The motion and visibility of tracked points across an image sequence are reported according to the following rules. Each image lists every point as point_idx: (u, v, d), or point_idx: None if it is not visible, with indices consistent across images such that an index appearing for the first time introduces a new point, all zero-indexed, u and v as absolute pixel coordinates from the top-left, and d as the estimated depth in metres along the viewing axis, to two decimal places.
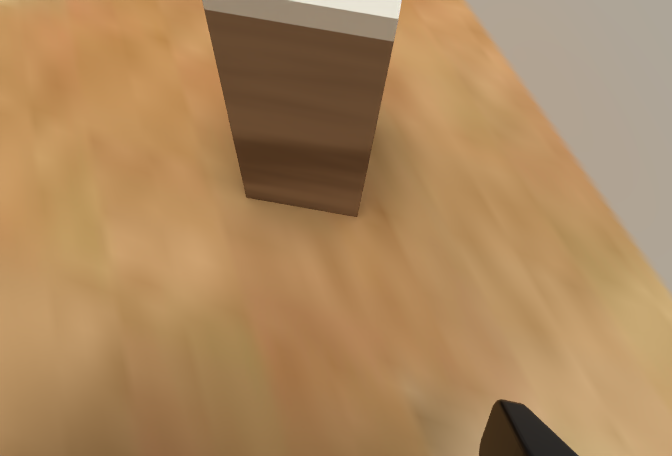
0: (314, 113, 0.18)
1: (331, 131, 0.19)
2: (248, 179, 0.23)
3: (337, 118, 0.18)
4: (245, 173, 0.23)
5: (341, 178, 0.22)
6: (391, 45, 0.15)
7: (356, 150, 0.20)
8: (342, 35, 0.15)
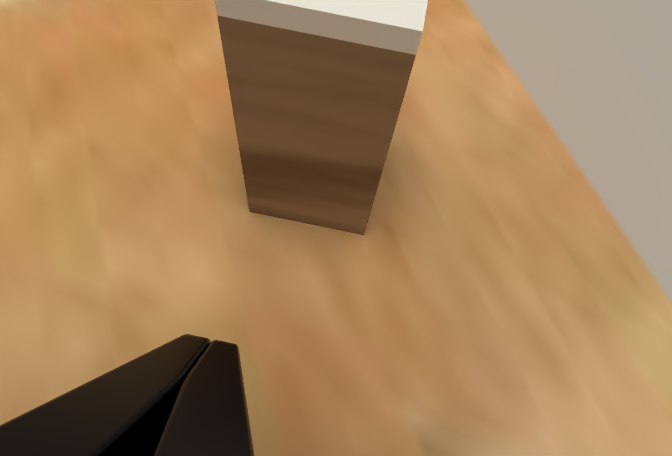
0: (326, 126, 0.17)
1: (343, 147, 0.18)
2: (253, 193, 0.22)
3: (350, 132, 0.17)
4: (250, 187, 0.22)
5: (350, 194, 0.21)
6: (413, 58, 0.14)
7: (368, 167, 0.19)
8: (361, 46, 0.14)
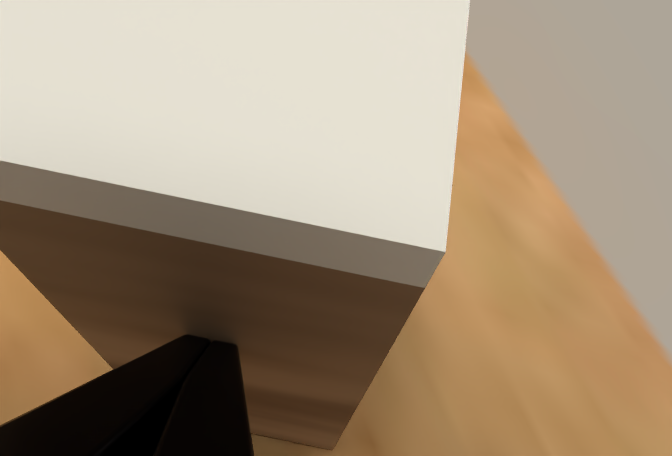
0: (245, 356, 0.09)
1: (282, 378, 0.10)
2: None
3: (293, 368, 0.09)
4: None
5: (305, 420, 0.12)
6: (417, 293, 0.06)
7: (331, 401, 0.11)
8: (292, 265, 0.06)
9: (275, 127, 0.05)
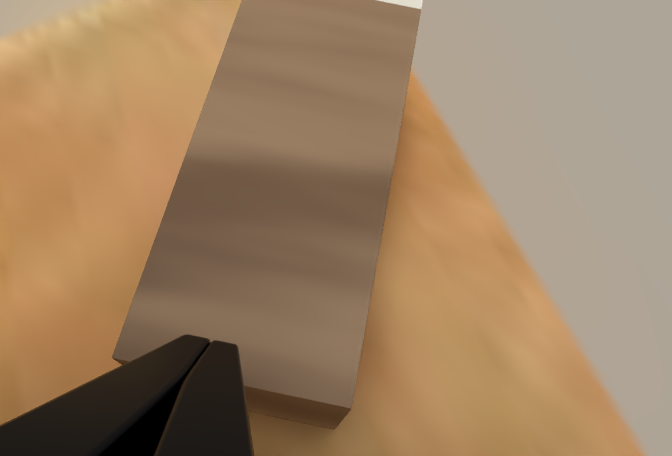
0: (325, 100, 0.14)
1: (341, 134, 0.14)
2: (153, 278, 0.12)
3: (354, 107, 0.14)
4: (157, 257, 0.12)
5: (339, 251, 0.13)
6: (419, 12, 0.16)
7: (372, 172, 0.14)
8: (374, 2, 0.16)
9: None
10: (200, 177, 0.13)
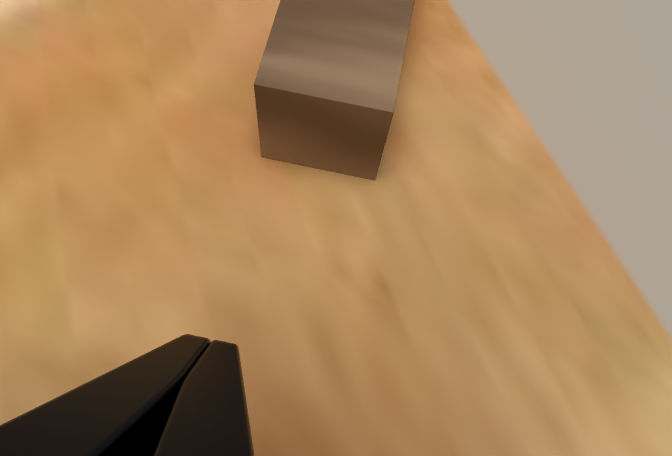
0: None
1: None
2: (274, 46, 0.20)
3: None
4: (274, 36, 0.21)
5: (383, 35, 0.21)
6: None
7: None
8: None
9: None
10: None
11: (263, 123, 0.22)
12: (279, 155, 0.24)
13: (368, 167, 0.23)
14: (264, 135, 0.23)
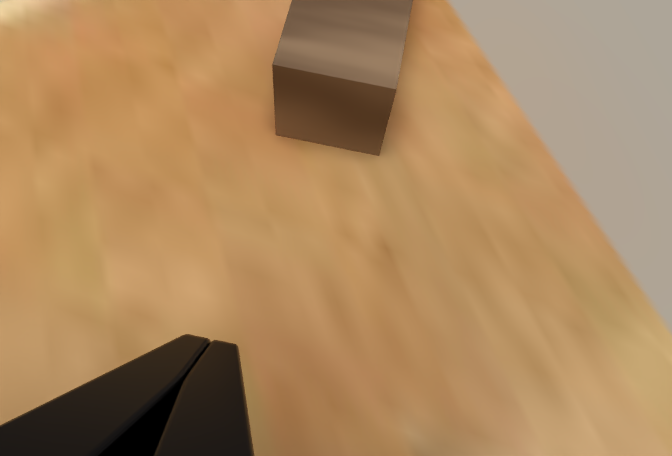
0: None
1: None
2: (289, 31, 0.23)
3: None
4: (289, 22, 0.23)
5: (387, 22, 0.23)
6: None
7: None
8: None
9: None
10: None
11: (279, 101, 0.24)
12: (292, 133, 0.26)
13: (373, 143, 0.26)
14: (279, 113, 0.25)
